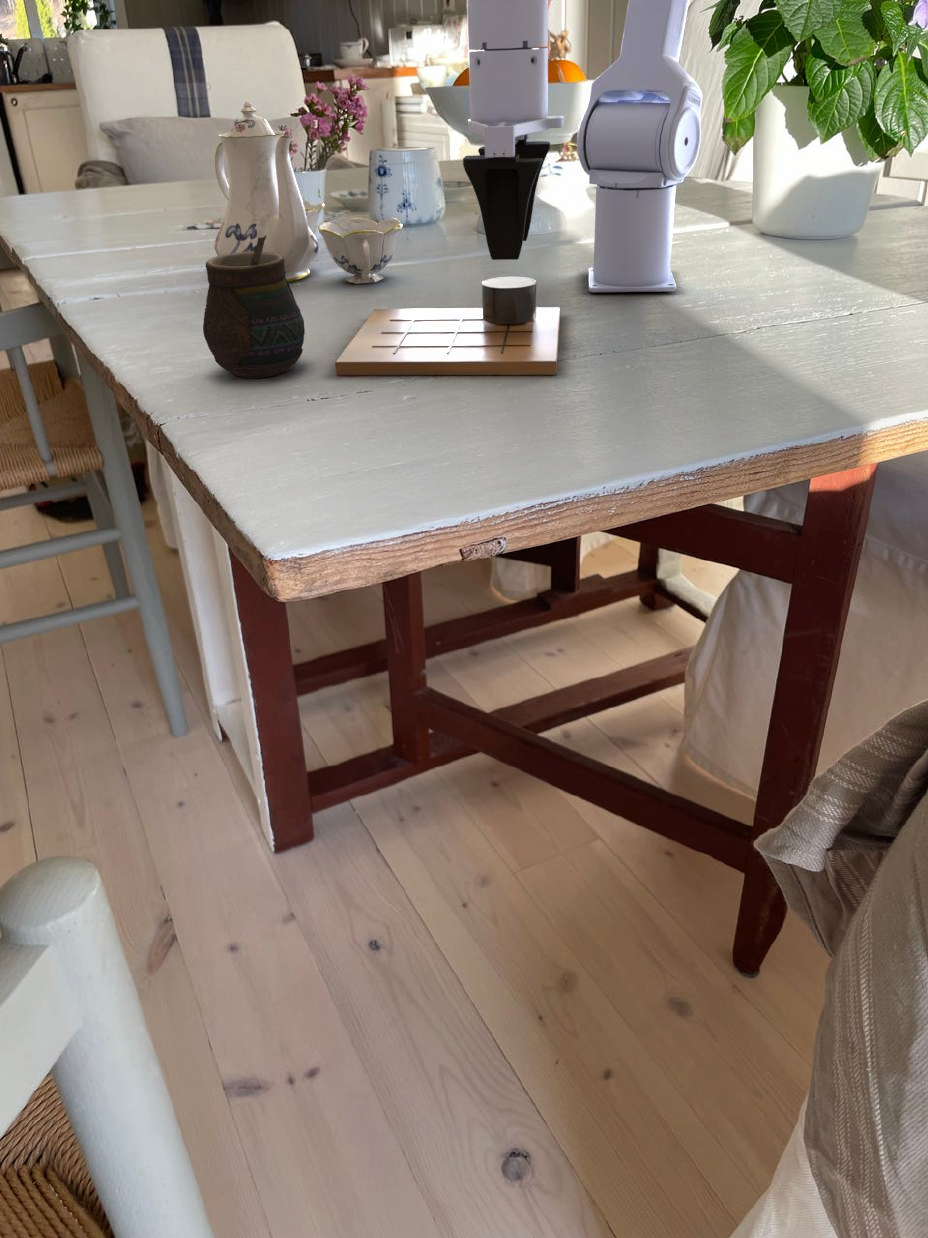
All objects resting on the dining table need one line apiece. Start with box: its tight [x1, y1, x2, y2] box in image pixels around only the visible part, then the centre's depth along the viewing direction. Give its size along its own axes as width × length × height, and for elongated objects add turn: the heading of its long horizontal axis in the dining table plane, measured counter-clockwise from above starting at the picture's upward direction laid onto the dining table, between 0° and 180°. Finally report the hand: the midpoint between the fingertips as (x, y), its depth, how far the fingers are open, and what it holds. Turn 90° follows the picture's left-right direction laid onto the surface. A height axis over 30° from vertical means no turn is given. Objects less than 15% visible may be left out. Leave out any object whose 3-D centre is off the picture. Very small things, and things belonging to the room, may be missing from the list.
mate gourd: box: [202, 235, 306, 379], centre depth 70 cm, size 7×8×10 cm
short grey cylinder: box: [481, 276, 538, 324], centre depth 79 cm, size 4×4×3 cm
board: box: [334, 306, 561, 376], centre depth 77 cm, size 16×16×1 cm
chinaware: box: [213, 100, 404, 285], centre depth 100 cm, size 28×17×17 cm, turn 40°
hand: (509, 249), depth 77 cm, fingers open, 7 cm apart
